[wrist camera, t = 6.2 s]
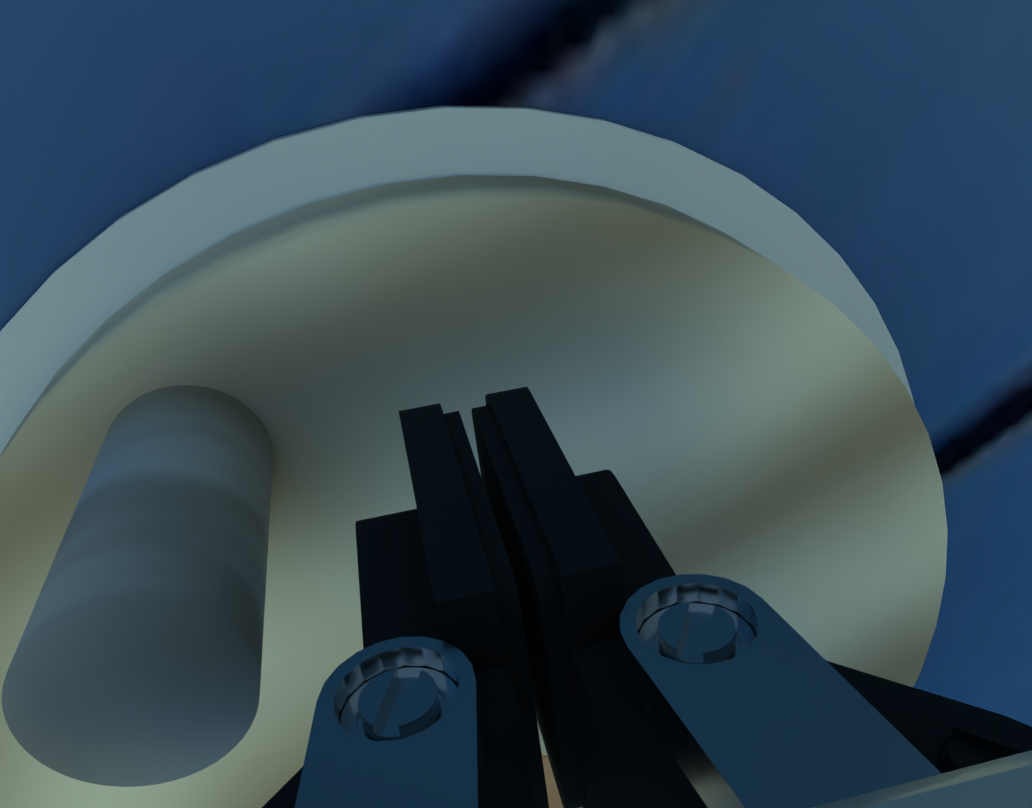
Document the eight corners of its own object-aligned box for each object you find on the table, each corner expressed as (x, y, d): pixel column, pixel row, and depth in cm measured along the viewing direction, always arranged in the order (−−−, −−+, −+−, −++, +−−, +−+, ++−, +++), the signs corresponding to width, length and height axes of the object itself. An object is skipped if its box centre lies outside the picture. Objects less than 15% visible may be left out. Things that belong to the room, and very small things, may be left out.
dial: (1006, 603, 22) (1284, 852, 16) (428, 1018, 24) (472, 1376, 18) (568, -95, 13) (814, -156, 7) (-285, 670, 15) (-684, 1147, 9)
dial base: (735, 908, 26) (747, 934, 25) (-68, 955, 20) (-81, 991, 19) (1068, 227, 18) (1099, 237, 17) (-110, -46, 12) (-135, -48, 11)
